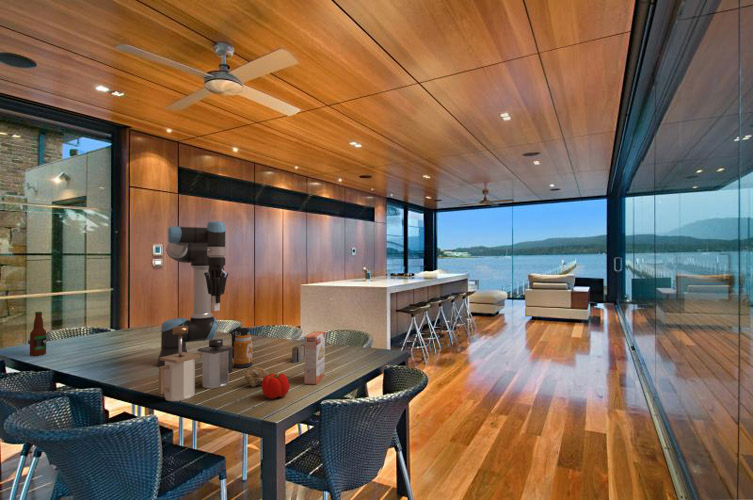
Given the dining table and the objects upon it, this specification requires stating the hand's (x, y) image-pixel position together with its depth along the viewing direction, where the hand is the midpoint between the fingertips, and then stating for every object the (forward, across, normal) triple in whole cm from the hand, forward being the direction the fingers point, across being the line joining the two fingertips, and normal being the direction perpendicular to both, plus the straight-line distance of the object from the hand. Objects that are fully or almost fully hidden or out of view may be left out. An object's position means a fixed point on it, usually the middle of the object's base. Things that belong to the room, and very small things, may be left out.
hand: (215, 310), depth 175 cm
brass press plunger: (+21, 0, -17) cm, 27 cm away
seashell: (+32, +16, +10) cm, 38 cm away
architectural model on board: (+33, +4, +51) cm, 61 cm away
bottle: (+33, -138, -11) cm, 142 cm away
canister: (+33, -14, +27) cm, 44 cm away
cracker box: (+32, +34, +26) cm, 54 cm away
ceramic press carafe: (+32, 0, -19) cm, 37 cm away
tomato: (+32, +34, +1) cm, 47 cm away
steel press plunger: (+29, 0, 0) cm, 29 cm away
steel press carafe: (+32, 0, +1) cm, 32 cm away
